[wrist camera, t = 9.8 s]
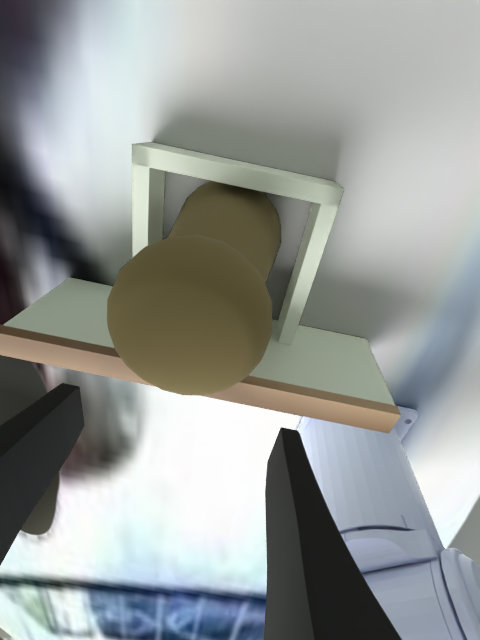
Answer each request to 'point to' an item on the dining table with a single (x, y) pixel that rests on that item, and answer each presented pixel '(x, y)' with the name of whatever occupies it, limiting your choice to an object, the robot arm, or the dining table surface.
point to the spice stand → (287, 335)
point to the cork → (200, 294)
